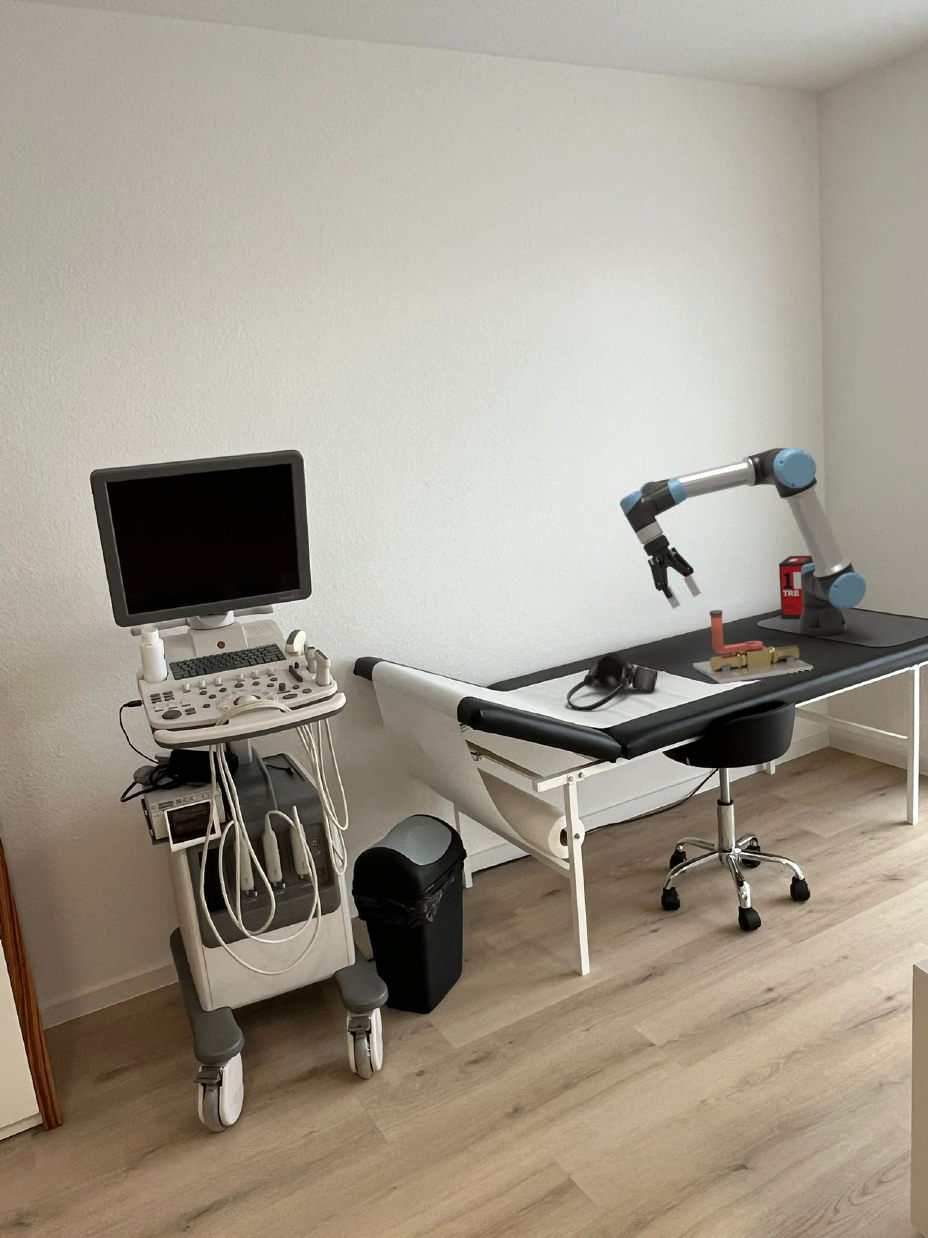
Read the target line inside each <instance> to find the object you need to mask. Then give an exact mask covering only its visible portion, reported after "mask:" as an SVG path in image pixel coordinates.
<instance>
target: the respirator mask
mask: <svg viewBox="0 0 928 1238" xmlns="http://www.w3.org/2000/svg"><path fill="white" fill-rule="evenodd" d="M658 674H659V671H658V670H657V669H652V668H646V667H644V666H641V665H637V666H636V668H635V665H634V664H633V662H632V661H631V660H629V659H627V658H626V657H624V656H623V655H622V654H620V653H617V652H613V651H612V652H608V653H607V654H605V655H604V656H603V657H602V658H599V659H598V660H597V664H595V665H592V666H591V667H590V668H589V670H588V673H587V674H586V675H585V676H584V678H583V680H582V681H581V682H579V683H577V684H576V685H575V686H573V687H572V688H571V689H570V690H569V691H568V693H567V694H566V695H567V696H566V701H567V704H568V706H569V707H570V708H571V709H573V708H574V709H573V710H575V709H577V710H576V711H580V710H590V711H593V710H596V709H598V708H600V707H602V706H604V705H605V704H607V703H608V702H610V701H611V700H613V699H614V698H615V697H616V696H618V695H619V694H620V693H621V692H622V691H627V690H628V689H629V686H630V685H631V686H632V687H631V688H633V689H636V690H642V691H646V692H648V691H649V693H653V692H654V690H655V688H656V684H657V681H658ZM592 686H594V687H602V686H605V687H607V688H612V690H613V689H614V690H613V691H611V692H610V693H609V694H608V695H606V696H605V697H603V698H602V699H600V700H598V701H596V702H595V703H592V704H589V705H586V706H583V705H582V706H580V705H579V706H578V705H576V704H574V703H572V701H571V697H572V696H573V695H574V694H575V693H577V692H578V691H579V690H580V689H581V688H583V687H592Z"/></svg>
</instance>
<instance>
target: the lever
mask: <svg viewBox="0 0 928 1238" xmlns="http://www.w3.org/2000/svg"><path fill="white" fill-rule="evenodd" d="M709 616H710V628H711V641H712V642H711V643H712V644H711V645H712V646H711V647H712V649H713V650H714V653H716V654H717V655H722V654H723V655H725V654H729V653H730V654H731V653H733V652H739V651H745V650H758V649H762V648H763V646H764V643H763V641H761V640H750V641H749V640H748V641H745V642H742V643H735V644H728V645H727V644H726V645H724V643H725V642H724V628H723V610H721V609H713V610H710V611H709Z"/></svg>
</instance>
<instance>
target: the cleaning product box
mask: <svg viewBox="0 0 928 1238" xmlns="http://www.w3.org/2000/svg"><path fill="white" fill-rule="evenodd" d="M811 563H814V562H813V560H812V557H811V555H789V556H788V557H786V558H785V559H783V560H782V561H781V562H780V563H778V569H779V570H778V572H779V574H778V575H779V590H780V591H779V593H780V608H781V609H780V610H781V611H780V613H781V620H800V617H801V614H802V611H803V598H802V580H801V569H802V566H803V565H805V564H811Z"/></svg>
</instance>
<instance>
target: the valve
mask: <svg viewBox="0 0 928 1238" xmlns="http://www.w3.org/2000/svg"><path fill="white" fill-rule="evenodd" d="M731 653H732V654H731ZM731 653H730V654H723V655H719V656H718V655H717V656H711V657H710V659H709V660H708V661H707V660H705V661H701V662H694V663H692V666H693V668H694V669H696V670H697V671H699V672H701V673H702V674H704V675H706V676H707V677H709V678H710V679H712V680H714V681H716V682H717V683H719V684H726V683H733V682H734V683H735V682H740V681H741V682H742V681H746V680H747V681H748V680H755V679H761V678H766V677H774V676H782V675H787V673H789V674H794V672H795V673H799V672H798V671H802V672H805V671H804V670H809V671H812V670H811V669H813V670H814V665H812V664H811V663H807V662H806V661H803V660H801V659H799V657H800V650H799V647H798V646H797V645H795V644H794V645H788V646H787V645H786V646H782V647H781V646H780V647H775V646H774V645H773V646H768V647H766V646H765V645H763V648H762V649H758V650H745V651H738V652H731Z"/></svg>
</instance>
